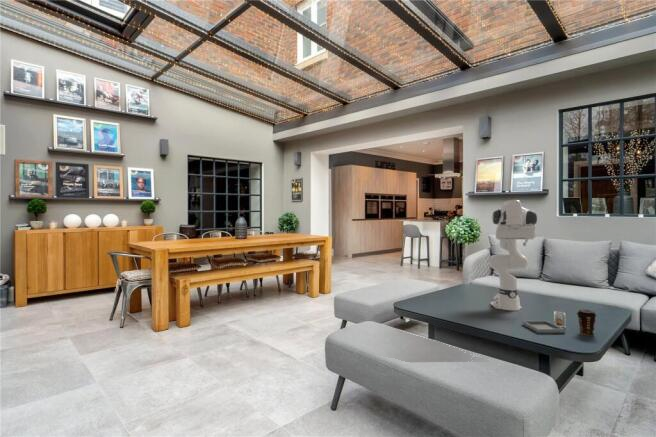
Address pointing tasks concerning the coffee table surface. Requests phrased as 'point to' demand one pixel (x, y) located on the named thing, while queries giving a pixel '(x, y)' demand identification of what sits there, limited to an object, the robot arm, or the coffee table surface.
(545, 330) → the tray
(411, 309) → the coffee table surface
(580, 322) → the coffee cup
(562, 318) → the shaker
